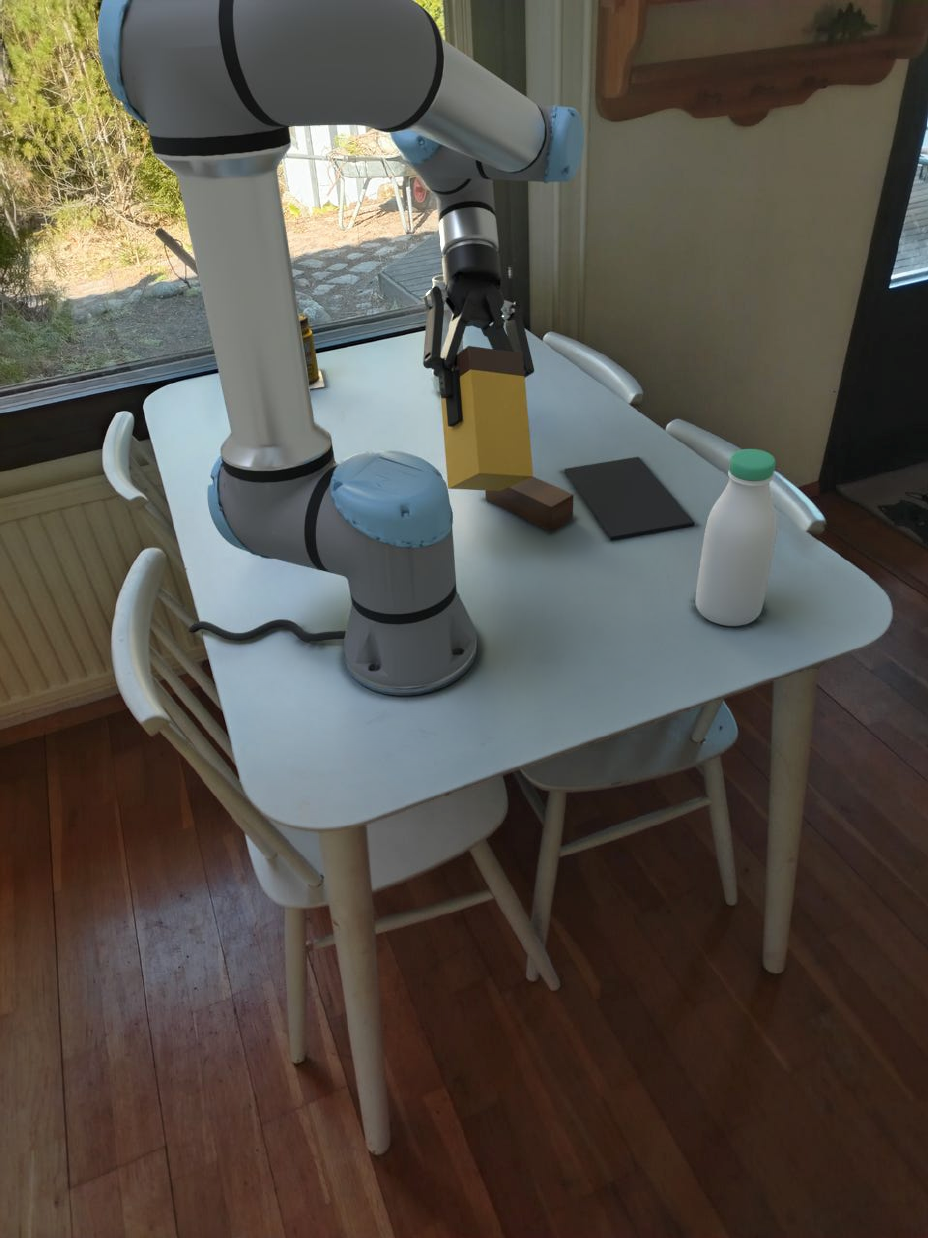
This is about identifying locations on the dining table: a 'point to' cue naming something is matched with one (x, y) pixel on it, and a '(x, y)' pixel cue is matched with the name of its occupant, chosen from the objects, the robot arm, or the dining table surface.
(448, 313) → the plastic bottle
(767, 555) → the milk bottle
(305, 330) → the condiment
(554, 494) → the walnut block
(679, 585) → the dining table surface
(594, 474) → the mat
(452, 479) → the tea tin
